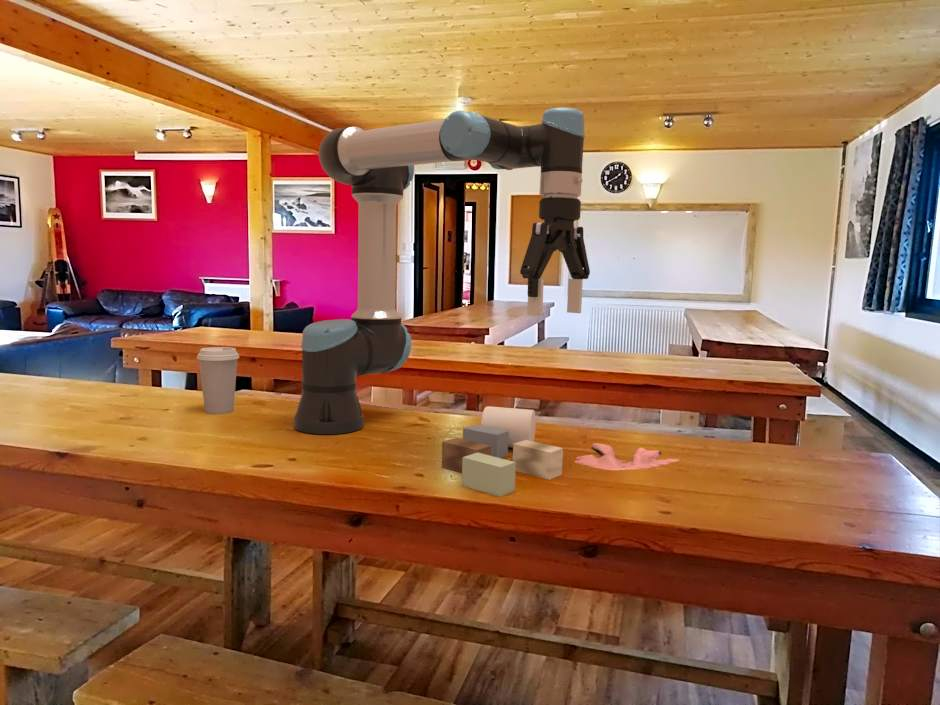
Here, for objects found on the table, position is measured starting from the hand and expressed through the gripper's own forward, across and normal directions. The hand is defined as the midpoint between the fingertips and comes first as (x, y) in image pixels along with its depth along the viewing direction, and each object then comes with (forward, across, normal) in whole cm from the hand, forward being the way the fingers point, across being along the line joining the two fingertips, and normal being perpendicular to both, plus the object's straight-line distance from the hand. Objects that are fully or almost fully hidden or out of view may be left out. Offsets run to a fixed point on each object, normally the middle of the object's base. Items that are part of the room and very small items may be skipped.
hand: (555, 314), depth 127 cm
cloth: (+29, +13, -10) cm, 33 cm away
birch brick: (+28, -8, -3) cm, 29 cm away
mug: (+28, +4, +12) cm, 31 cm away
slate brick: (+28, -6, +11) cm, 31 cm away
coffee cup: (+28, -22, +79) cm, 87 cm away
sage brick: (+28, -21, -2) cm, 35 cm away
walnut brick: (+28, -16, +7) cm, 33 cm away
